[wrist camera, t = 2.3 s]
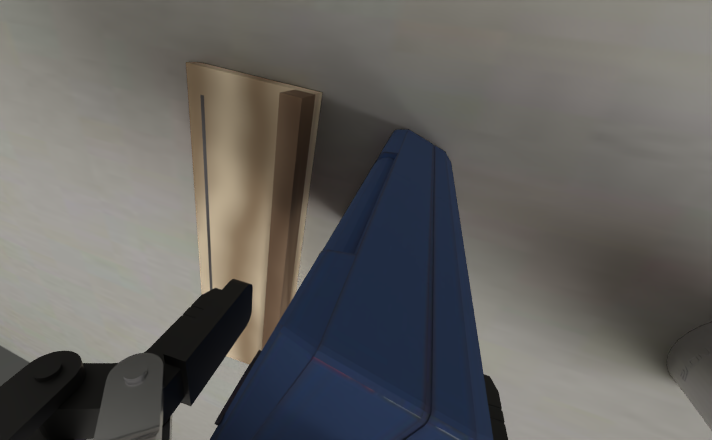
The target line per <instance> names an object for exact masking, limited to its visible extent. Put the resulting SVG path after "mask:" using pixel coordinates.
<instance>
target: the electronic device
mask: <svg viewBox="0 0 712 440" xmlns="http://www.w3.org/2000/svg"><path fill="white" fill-rule="evenodd" d="M215 424H216V425H218V426H217V428H216V430H215V432H214V433H213V435H212V437H211V438H210V440H493V434H492V427H491V421H490V414H489V408H488V401H487V394H486V388H485V381H484V375H483V368H482V362H481V355H480V349H479V342H478V336H477V329H476V322H475V316H474V309H473V303H472V296H471V290H470V283H469V277H468V270H467V264H466V257H465V251H464V244H463V237H462V231H461V224H460V218H459V211H458V205H457V198H456V192H455V185H454V179H453V172H452V165H451V162H450V160H449V158H448V156H447V154H446V152H445V151H443V150H441V149H440V148H438V147H437V146H434V145H433V144H432V143H430V142H428V141H427V140H425V139H423V138H422V137H420V136H419V135H417V134H415V133H414V132H412V131H410V130H409V129H408V130H395V131H394V132H393V134H392V135H391V137H390V139H389V140H388V142H387V144H386V145H385V147H384V149H383V150H382V152H381V154H380V155H379V157H378V159H377V160H376V162H375V164H374V165H373V167H372V169H371V171H370V172H369V174H368V176H367V177H366V179H365V181H364V182H363V184H362V186H361V187H360V189H359V191H358V192H357V194H356V196H355V197H354V199H353V201H352V202H351V204H350V206H349V207H348V209H347V211H346V212H345V214H344V216H343V217H342V219H341V221H340V222H339V224H338V226H337V227H336V229H335V231H334V232H333V234H332V236H331V237H330V239H329V241H328V242H327V244H326V246H325V247H324V249H323V251H321V253H320V254H319V256H318V258H317V259H316V261H315V263H314V264H313V266H312V268H311V269H310V271H309V273H308V274H307V276H306V277H305V279H304V281H303V282H302V284H301V286H300V287H299V289H298V291H297V292H296V294H295V296H294V297H293V299H292V301H291V302H290V304H289V306H288V307H287V309H286V311H285V312H284V314H283V315H282V317H281V319H280V320H279V322H278V324H277V325H276V327H275V329H274V331H273V332H272V334H271V336H270V337H269V339H268V341H267V343H266V344H265V346H264V348H263V349H262V351H261V350H259V351H258V352H257V354H256V355H255V357H254V358H253V360H252V362H251V363H250V365H249V367H248V368H247V370H246V371H245V373H244V375H243V376H242V378H241V380H240V381H239V383H238V385H237V386H236V388H235V390H234V391H233V393H232V395H231V396H230V398H229V400H228V401H227V403H226V405H225V406H224V408H223V410H222V411H221V413H220V415H219V416H218V418H217V420H216V422H215Z"/></svg>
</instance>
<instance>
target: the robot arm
mask: <svg viewBox="0 0 712 440" xmlns="http://www.w3.org/2000/svg"><path fill="white" fill-rule="evenodd" d="M252 295H253V286H252V284H249V283H246V282H243V281H240V280H236V279H232V280H230V281H229V282H228V284H227V285H226V286H225V287H224V288H223V289H222V290H221V289H218V288H214V289H212V290H210V291H208V292H206V293H204V294H202V295H201V296H200V297H199V298H198V299H197V300H196V301H195V302H194V303H193V304H192V306H191V307H189V308H188V309H187V310H186V311H185V313H184V314H183V316H181V317H180V318H179V319H178V320H177V321H176V322H175V323H174V324H173V325H172V326H171V327H170V328H169V329H168V330H167V331H166V332H165V333H164V334H163V335H162V336H161V337H160V338H159V339H158V340H157V341H156V342H155V343H154V344H153V345H152V346H151V347H150V348H149V349H148V350H147V351H146V352H144V353H139V354H135V355H132V356H129V357H127V358H125V359H124V360H122V361H120V362H119V363H82V360H81V358H80V356H79V355H78V354H77V353H75V352H71V351H57V352H53V353H49V354H46V355H44V356H41V357H39V358H37V359H36V360H34V361H32V362H31V363H29V364H28V365H27V366H25V367H24V368H23V369H22V370H21V371H19V372H18V373H17V374H15V375H14V376H13V377H12V378H10V379H9V380H8V381H7V382H5V383H4V384H3V385H2V386H1V387H0V440H86V439H91V438H94V440H171V438H172V414H173V412H174V411H175V409H176V408H177V407H178V405H179V404H180V403H184V404H186V405H189V406H191V405H192V404H193V403H194V401H195V400H196V398H197V397H198V395H199V394H200V392H201V391H202V390H203V388H204V387H205V385H206V384H207V382H208V381H209V380H210V378H211V377H212V375H213V374H214V372H215V371H216V369H217V368H218V367H219V365H220V364H221V362H222V361H223V359H224V358H225V357H226V355H227V354H228V352H229V351H230V349H231V348H232V346H233V345H234V344H235V342H236V341H237V339H238V338H239V336H240V335H241V333H242V332H243V331H244V329H245V328H246V326H247V324H248V322H249V320H250V317H251V313H252ZM667 368H668V371H669V373H670V375H671V376H672V377H673V379H674V380H675V381H676V383H677V384H678V385H679V387H680V388H681V390H682V391H683V392H684V394H685V395H686V396H687V398H688V399H689V400H690V402H691V403H692V404H693V406H694V407H695V408H696V410H697V411H698V412H699V414H700V415H701V417H702V418H703V419H704V421H705V422H706V424H707V425H708V426H709V428H710V429H711V430H712V322H710V323H708V324H705V325H702V326H700V327H698V328H696V329H694V330H692V331H691V332H689V333H687V334H686V335H684V336H683V337H682V338H681V339H679V340H678V341H677V342H676V343H675V345H674V346H673V347H672V348H671V350H670V352H669V354H668V357H667ZM483 375H484V374H483ZM484 381H485V388H486V394H487V401H488V408H489V414H490V421H491V427H492V434H493V440H508V437H507V432H506V427H505V425H504V417H503V412H502V411H501V409H502V407H501V402H500V397H499V392H498V390H497V388H496V387H495V385H494V383H493V381H492V379H491V378H490V376H487V375H484Z"/></svg>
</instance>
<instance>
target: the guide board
mask: <svg viewBox="0 0 712 440" xmlns="http://www.w3.org/2000/svg"><path fill="white" fill-rule="evenodd" d="M186 71H187V85H188V100H189V115H190V129H191V144H192V159H193V174H194V188H195V203H196V218H197V233H198V247H199V262H200V277H201V291H202V294H204V293H206V292H208V291H210V290H212V289H214V288H218V289H221V290H222V289H223V288H224V287H225V286H226V285H227V284H228V282H229V281H230V280H232V279H236V280H240V281H243V282H246V283H249V284H252V286H253V295H252V313H251V317H250V320H249V322H248V324H247V326H246V328H245V329H244V331H243V332H242V333H241V335H240V336H239V338H238V339H237V341H236V342H235V344H234V345H233V346H232V348H231V349H230V351H229V352H228V354H227V355H226V356H227V357H230V358H233V359H236V360H239V361H241V362H244V363H247V364H250V363H251V362H252V360H253V358H254V357H255V355H256V354H257V352H258V351H259V350H261V351H262V349H263V348H264V346H265V344H266V343H267V341H268V339H269V337H270V336H271V334H272V332H273V331H274V329H275V327H276V325H277V324H278V322H279V320H280V319H281V317H282V315H283V314H284V312H285V311H286V309H287V307H288V306H289V304H290V302H291V301H292V299H293V297H294V296H295V294H296V288H297V280H298V273H299V265H300V258H301V250H302V242H303V235H304V227H305V220H306V212H307V205H308V197H309V190H310V182H311V175H312V167H313V160H314V152H315V145H316V137H317V130H318V122H319V115H320V107H321V100H322V92H318V91H314V90H310V89H306V88H302V87H298V86H293V85H289V84H285V83H281V82H277V81H273V80H269V79H265V78H261V77H257V76H253V75H249V74H245V73H241V72H237V71H233V70H229V69H224V68H220V67H216V66H212V65H208V64H204V63H200V62H186Z"/></svg>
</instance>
